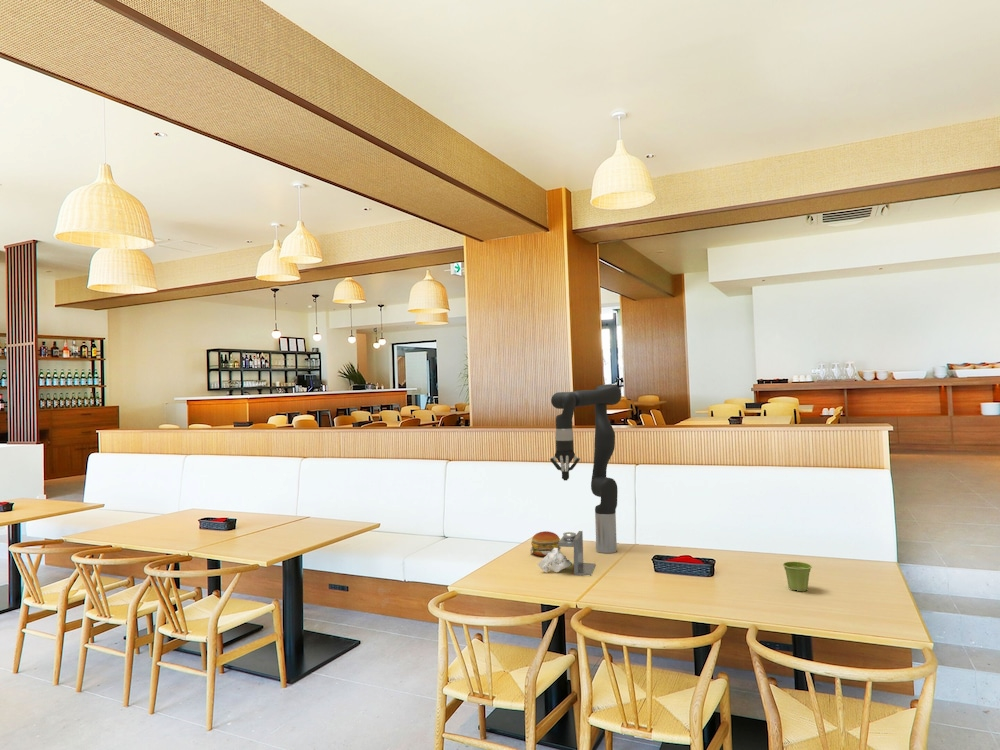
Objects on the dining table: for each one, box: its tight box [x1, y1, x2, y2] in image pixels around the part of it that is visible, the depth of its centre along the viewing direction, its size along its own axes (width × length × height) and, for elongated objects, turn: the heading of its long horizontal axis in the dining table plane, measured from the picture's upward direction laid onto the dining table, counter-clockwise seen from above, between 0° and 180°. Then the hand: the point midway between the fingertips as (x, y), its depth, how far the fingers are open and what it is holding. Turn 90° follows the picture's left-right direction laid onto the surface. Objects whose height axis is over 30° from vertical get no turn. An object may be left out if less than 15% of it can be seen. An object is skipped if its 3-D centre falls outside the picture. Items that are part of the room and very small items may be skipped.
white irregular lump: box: [537, 548, 573, 574], centre depth 262 cm, size 12×9×10 cm
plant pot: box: [782, 561, 813, 592], centre depth 230 cm, size 9×9×9 cm
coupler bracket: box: [559, 530, 596, 577], centre depth 262 cm, size 16×12×14 cm
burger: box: [530, 530, 561, 557], centre depth 288 cm, size 14×14×10 cm
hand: (565, 480), depth 273 cm, fingers closed
